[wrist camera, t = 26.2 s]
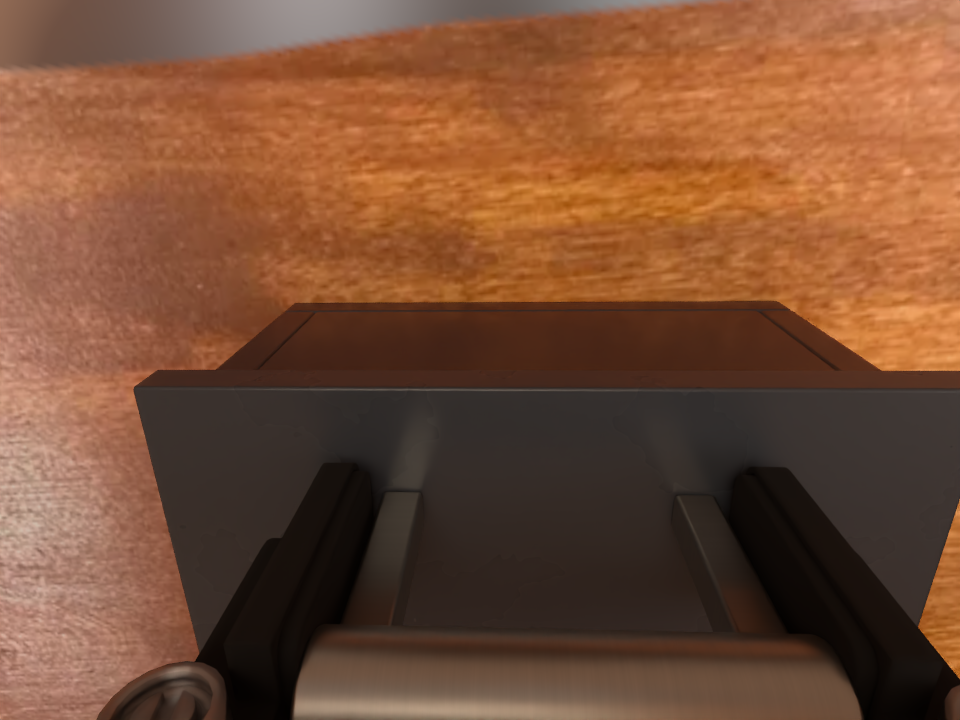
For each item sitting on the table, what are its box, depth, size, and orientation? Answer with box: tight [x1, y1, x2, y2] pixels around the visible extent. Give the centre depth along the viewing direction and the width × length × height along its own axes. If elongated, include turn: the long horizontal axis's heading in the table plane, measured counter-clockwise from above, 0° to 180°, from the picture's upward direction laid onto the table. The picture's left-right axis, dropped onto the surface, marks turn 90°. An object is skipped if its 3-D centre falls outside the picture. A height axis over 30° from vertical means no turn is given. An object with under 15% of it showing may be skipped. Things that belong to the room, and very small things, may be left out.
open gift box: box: [216, 301, 881, 371], centre depth 17 cm, size 15×14×7 cm
